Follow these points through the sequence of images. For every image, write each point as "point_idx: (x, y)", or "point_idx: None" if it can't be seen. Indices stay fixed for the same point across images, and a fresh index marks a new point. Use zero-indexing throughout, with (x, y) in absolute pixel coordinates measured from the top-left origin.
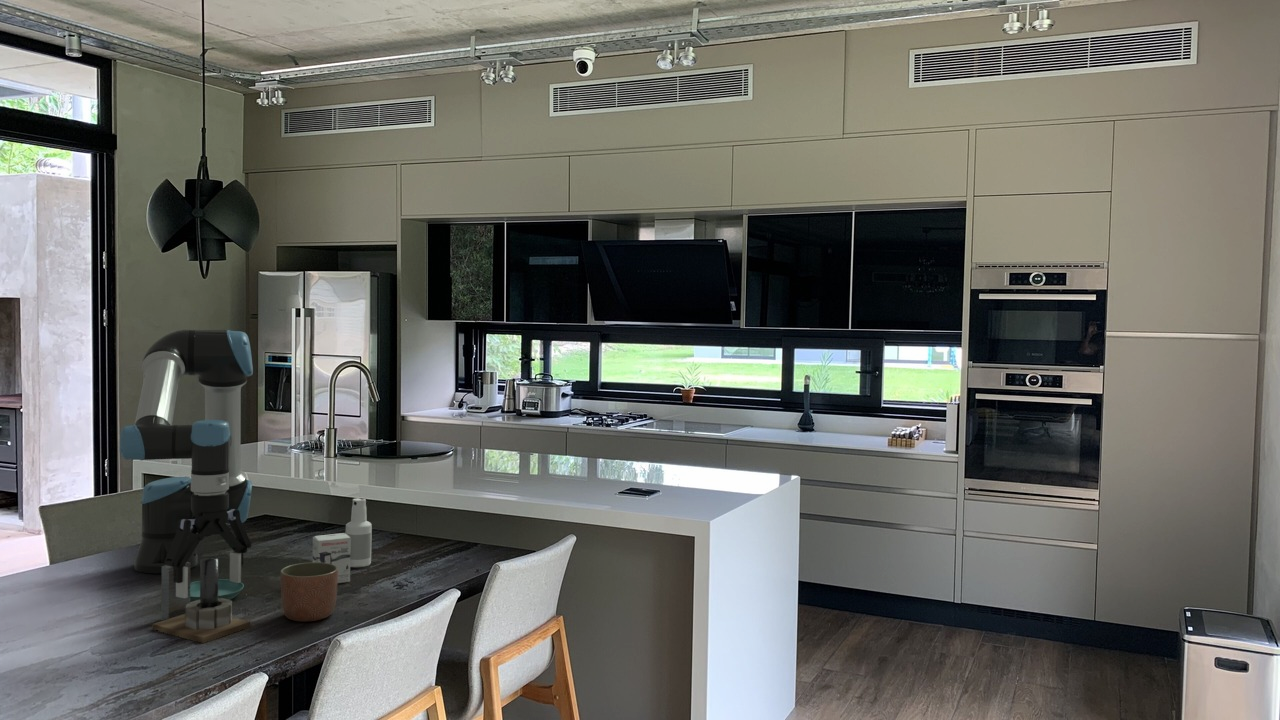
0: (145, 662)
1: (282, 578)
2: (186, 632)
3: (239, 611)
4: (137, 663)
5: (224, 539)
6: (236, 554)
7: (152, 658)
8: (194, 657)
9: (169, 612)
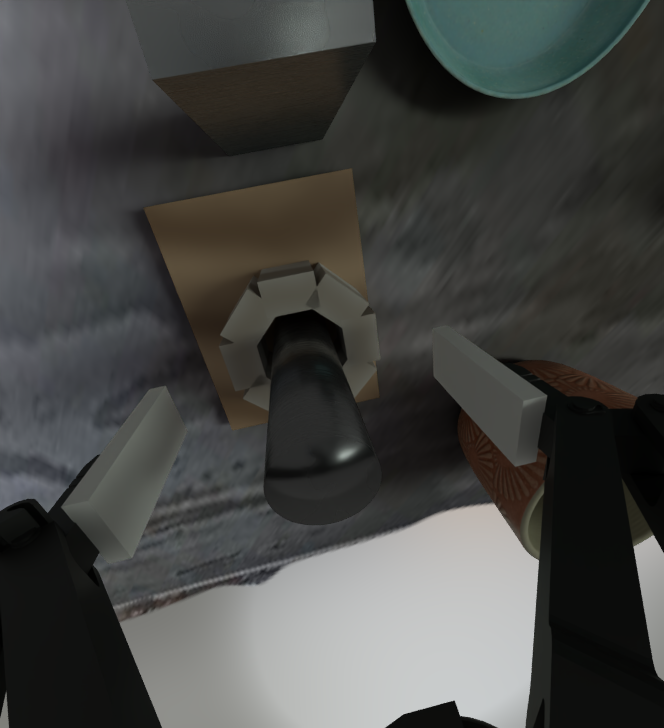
0: (73, 452)
1: (520, 485)
2: (211, 369)
3: (446, 240)
4: (53, 448)
5: (551, 516)
6: (513, 449)
7: (95, 439)
8: (183, 483)
9: (228, 148)
